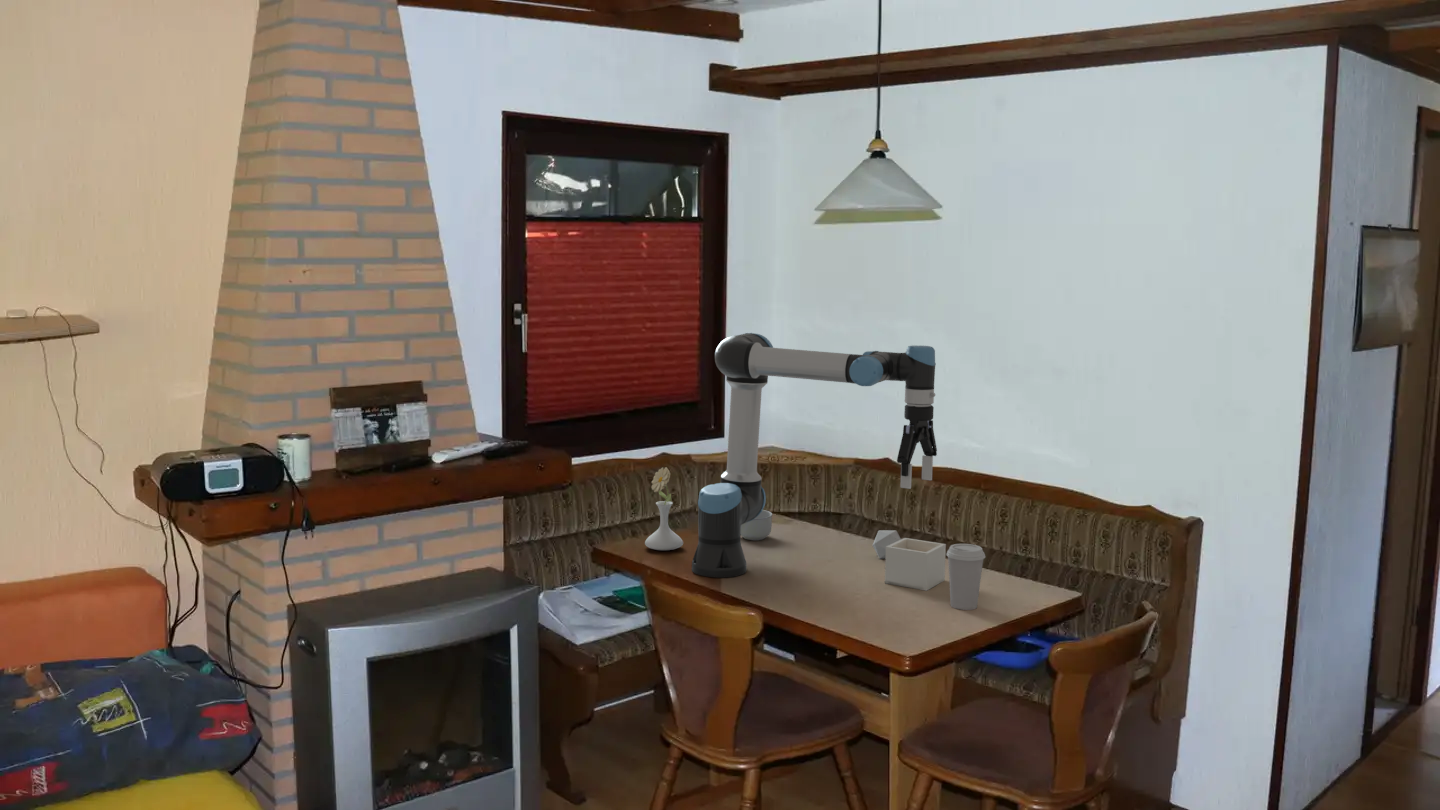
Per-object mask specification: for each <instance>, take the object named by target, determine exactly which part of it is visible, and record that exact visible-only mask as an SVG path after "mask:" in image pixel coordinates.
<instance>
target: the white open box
mask: <svg viewBox="0 0 1440 810" xmlns="http://www.w3.org/2000/svg"><path fill="white" fill-rule="evenodd" d="M946 547H947V544H946V543H941V542H935V541H928V540H921V539H916V538H908V537H903V538H901V540H899V541H897V542H895V543H893V544H891V545H888V546H886V558H885V559H884V561H885V563H884V566H885V567H884V584H886V585H893V586H899V587H903V588H910V589H915V590H920V591H926V592H927V591H929V590H930V589H932V588H934V587H935V586H937V585H939V584H941V583H943V582H944V581H945V577H946V553H947V551H946V550H947V549H946Z"/></svg>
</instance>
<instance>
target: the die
mask: <svg viewBox="0 0 1440 810" xmlns="http://www.w3.org/2000/svg"><path fill="white" fill-rule="evenodd" d="M901 539H902V538H901V537H900V535H899V533H898V531H897V530H893V529H892V530H891V529H888V530H886V529H885V530H884V529H883V530H882V529H881V530H879V529H878V531H877V533H876V536H875V538H874V540H873V543H872V547H873V549H874V551H875V553H876V554H877V556H878V558H879V560H880V559H883V560H885V558H886V546H888V545H891V544H893V543H895V542H897V541H899V540H901Z"/></svg>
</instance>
